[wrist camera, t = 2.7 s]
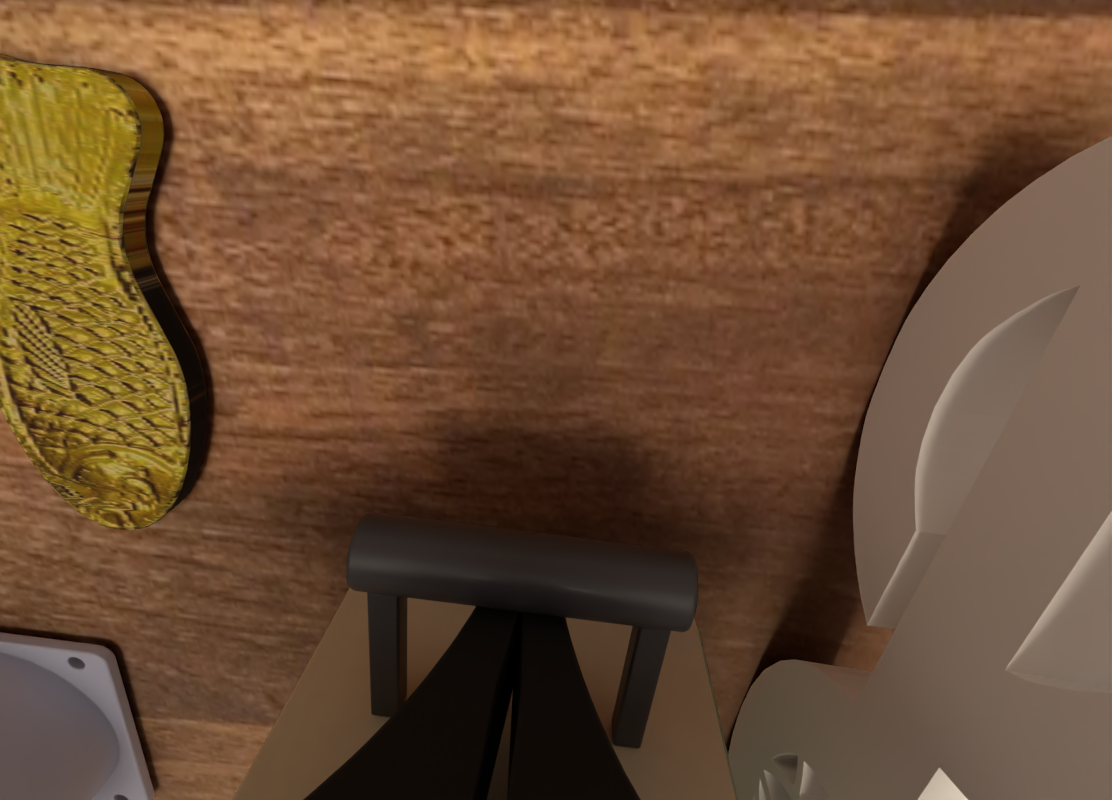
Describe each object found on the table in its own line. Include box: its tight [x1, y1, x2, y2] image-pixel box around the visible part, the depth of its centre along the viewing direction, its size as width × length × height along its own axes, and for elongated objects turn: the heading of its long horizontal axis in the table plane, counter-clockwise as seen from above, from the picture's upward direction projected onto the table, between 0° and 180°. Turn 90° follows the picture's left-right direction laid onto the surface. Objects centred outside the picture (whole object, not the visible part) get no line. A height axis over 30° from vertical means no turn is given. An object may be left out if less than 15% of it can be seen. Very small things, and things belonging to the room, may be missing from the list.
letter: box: [728, 136, 1112, 800], centre depth 11 cm, size 22×2×10 cm, turn 171°
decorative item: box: [0, 54, 207, 530], centre depth 13 cm, size 11×1×5 cm
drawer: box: [233, 512, 736, 800], centre depth 14 cm, size 15×9×6 cm, turn 174°
